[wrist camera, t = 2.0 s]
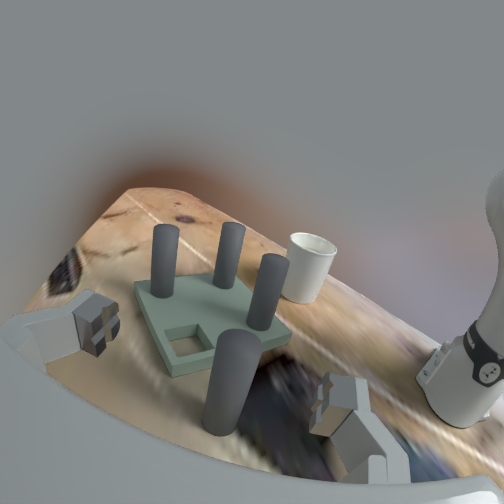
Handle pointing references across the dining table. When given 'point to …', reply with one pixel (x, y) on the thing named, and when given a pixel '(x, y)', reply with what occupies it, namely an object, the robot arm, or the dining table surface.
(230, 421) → the stool leg
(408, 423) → the dining table surface
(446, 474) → the dining table surface
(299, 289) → the candle holder
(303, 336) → the dining table surface
